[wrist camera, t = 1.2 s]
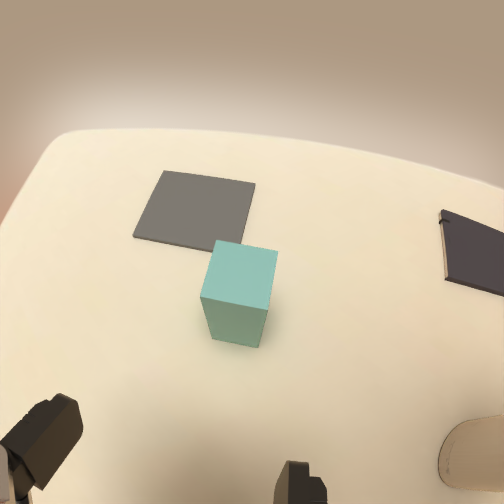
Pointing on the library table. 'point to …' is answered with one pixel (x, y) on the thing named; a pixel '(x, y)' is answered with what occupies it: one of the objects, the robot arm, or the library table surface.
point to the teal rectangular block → (238, 292)
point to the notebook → (472, 253)
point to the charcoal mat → (195, 211)
